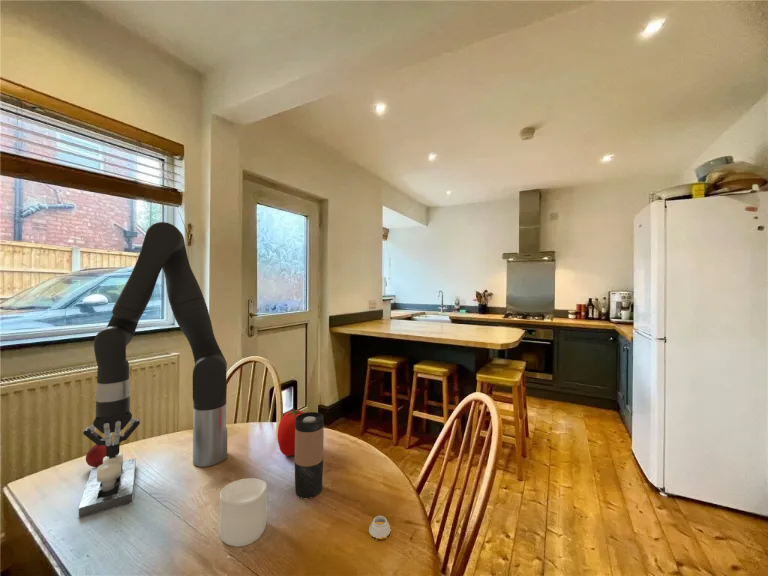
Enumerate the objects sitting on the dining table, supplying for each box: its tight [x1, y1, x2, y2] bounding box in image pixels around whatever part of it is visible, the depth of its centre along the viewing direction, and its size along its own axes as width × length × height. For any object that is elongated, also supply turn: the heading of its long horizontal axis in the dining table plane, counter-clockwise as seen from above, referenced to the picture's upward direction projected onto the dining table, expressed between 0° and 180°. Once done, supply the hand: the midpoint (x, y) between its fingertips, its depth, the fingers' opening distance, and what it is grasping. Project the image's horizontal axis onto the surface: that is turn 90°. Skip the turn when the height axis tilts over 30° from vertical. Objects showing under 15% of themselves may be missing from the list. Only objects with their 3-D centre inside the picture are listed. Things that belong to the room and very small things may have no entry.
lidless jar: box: [368, 515, 392, 538], centre depth 74 cm, size 5×3×5 cm
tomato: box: [276, 408, 306, 457], centre depth 108 cm, size 13×11×14 cm
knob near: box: [97, 461, 120, 491], centre depth 83 cm, size 4×4×6 cm
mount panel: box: [78, 457, 137, 519], centre depth 88 cm, size 10×20×2 cm, turn 35°
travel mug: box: [294, 411, 325, 499], centre depth 89 cm, size 8×8×20 cm
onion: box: [85, 443, 106, 468], centre depth 98 cm, size 6×6×8 cm
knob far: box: [103, 452, 124, 466], centre depth 93 cm, size 4×4×6 cm
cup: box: [218, 477, 268, 548], centre depth 74 cm, size 10×10×10 cm
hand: (112, 456), depth 93 cm, fingers closed
